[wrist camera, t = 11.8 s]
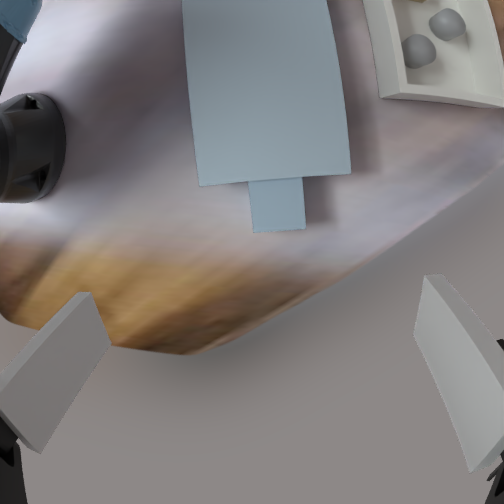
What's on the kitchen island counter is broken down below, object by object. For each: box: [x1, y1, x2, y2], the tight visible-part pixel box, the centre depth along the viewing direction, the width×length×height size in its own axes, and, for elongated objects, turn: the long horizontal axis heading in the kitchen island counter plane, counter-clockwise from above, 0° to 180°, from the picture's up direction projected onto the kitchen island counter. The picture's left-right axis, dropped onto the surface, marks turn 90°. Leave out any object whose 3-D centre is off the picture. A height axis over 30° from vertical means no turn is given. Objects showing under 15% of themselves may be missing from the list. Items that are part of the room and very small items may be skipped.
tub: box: [362, 0, 504, 108], centre depth 18 cm, size 13×20×6 cm, turn 7°
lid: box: [182, 0, 351, 233], centre depth 26 cm, size 14×26×4 cm, turn 7°
